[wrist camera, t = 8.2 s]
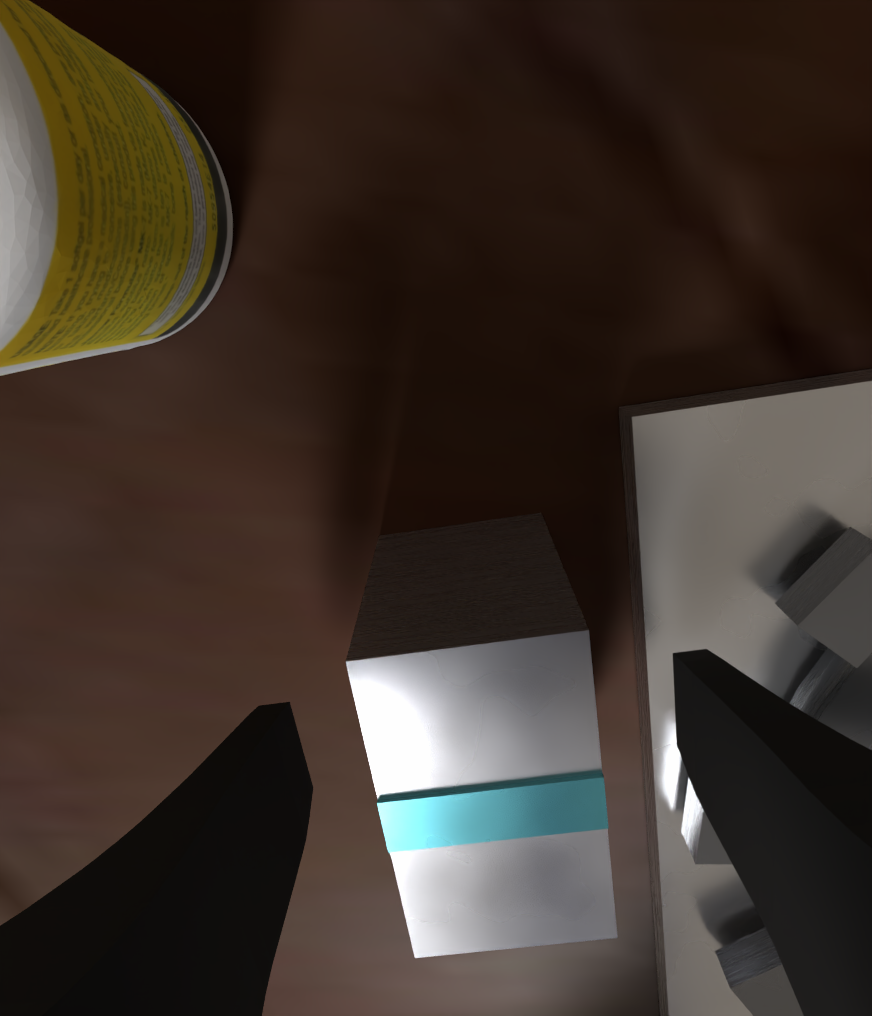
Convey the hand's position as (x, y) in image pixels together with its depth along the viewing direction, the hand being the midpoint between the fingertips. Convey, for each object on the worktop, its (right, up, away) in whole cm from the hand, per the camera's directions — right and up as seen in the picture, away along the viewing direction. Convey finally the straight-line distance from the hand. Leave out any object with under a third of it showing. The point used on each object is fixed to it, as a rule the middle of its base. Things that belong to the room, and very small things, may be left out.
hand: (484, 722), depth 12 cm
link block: (0, +1, +3) cm, 3 cm away
